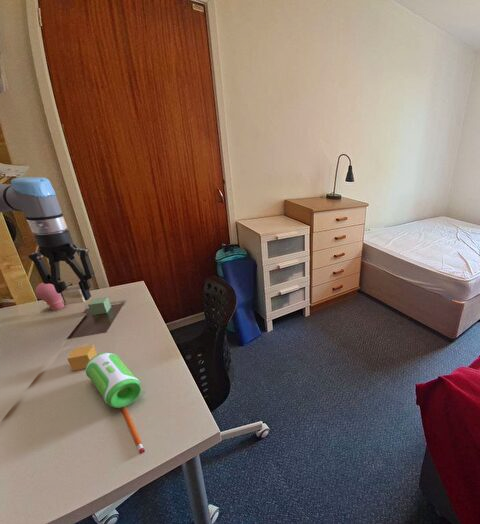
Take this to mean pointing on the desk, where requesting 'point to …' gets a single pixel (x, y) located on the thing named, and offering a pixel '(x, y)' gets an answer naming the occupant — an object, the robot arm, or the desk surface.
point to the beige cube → (73, 295)
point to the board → (95, 322)
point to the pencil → (133, 430)
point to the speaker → (113, 380)
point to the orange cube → (81, 357)
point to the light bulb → (49, 296)
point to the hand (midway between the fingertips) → (78, 299)
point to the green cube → (99, 305)
